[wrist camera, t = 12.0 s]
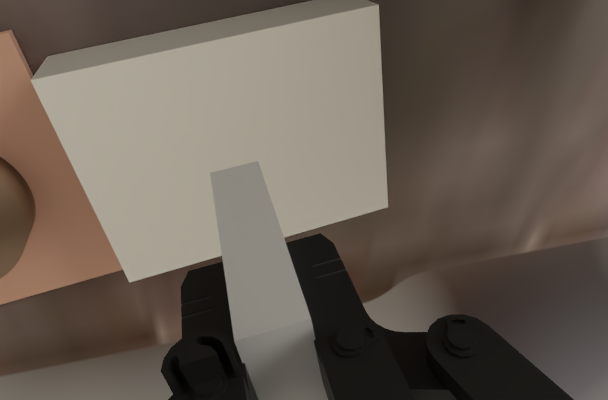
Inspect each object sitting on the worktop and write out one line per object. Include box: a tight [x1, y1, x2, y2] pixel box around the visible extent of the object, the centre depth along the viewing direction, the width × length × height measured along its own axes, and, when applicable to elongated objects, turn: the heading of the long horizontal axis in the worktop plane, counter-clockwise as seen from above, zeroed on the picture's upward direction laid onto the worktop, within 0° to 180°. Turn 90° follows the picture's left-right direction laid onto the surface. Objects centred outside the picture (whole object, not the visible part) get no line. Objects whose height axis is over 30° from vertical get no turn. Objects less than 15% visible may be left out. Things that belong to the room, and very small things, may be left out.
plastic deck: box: [31, 0, 388, 283], centre depth 26 cm, size 12×16×4 cm
